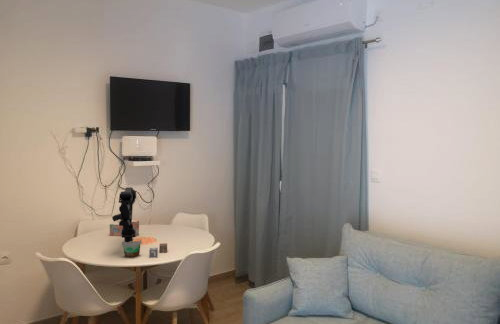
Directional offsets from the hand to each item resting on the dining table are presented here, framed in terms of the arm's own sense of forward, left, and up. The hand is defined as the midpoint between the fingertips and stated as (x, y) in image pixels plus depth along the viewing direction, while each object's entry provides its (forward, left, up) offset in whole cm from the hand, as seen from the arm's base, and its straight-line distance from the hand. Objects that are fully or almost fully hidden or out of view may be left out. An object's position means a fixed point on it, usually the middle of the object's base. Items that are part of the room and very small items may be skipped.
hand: (125, 232), depth 251 cm
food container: (+11, +5, -13) cm, 18 cm away
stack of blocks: (-41, -6, -13) cm, 44 cm away
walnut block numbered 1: (+3, +25, -13) cm, 28 cm away
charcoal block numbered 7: (+12, +19, -13) cm, 26 cm away
